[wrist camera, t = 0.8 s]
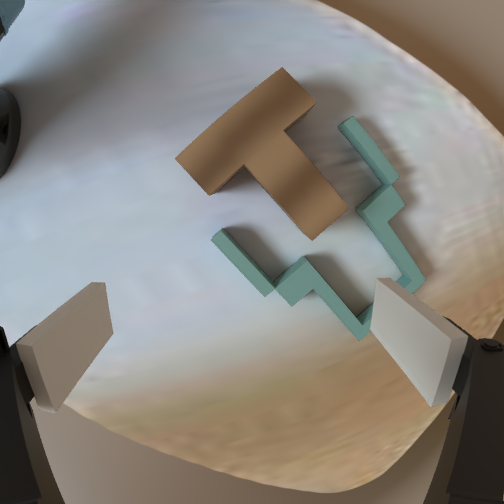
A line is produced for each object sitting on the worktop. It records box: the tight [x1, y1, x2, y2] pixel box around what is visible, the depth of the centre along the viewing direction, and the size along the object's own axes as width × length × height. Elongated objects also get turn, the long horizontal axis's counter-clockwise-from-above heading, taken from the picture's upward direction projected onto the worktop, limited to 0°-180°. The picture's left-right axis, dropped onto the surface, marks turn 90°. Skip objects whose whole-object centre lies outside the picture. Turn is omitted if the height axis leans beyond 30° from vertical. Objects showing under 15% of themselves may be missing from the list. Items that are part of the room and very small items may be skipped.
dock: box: [211, 116, 426, 341], centre depth 37 cm, size 22×21×2 cm
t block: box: [175, 67, 349, 241], centre depth 33 cm, size 15×14×6 cm
